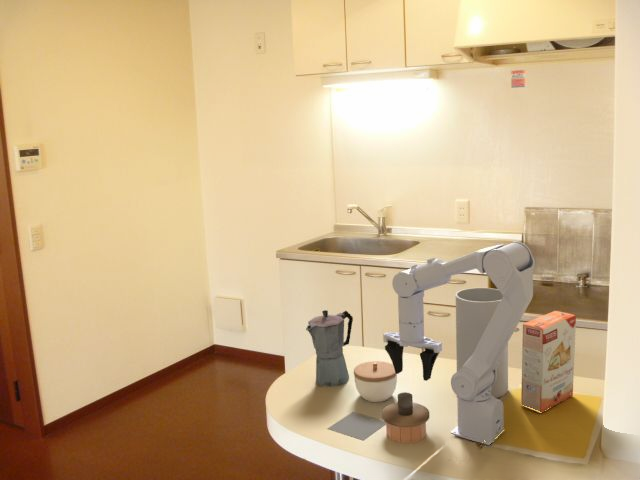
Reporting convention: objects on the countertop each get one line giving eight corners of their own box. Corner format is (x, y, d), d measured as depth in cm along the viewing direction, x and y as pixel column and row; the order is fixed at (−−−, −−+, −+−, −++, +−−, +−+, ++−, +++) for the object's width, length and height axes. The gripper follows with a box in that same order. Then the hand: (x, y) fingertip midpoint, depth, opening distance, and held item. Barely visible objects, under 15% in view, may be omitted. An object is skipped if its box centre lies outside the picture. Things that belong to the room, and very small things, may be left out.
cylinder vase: (476, 375, 177) (475, 284, 172) (517, 389, 168) (518, 293, 163) (446, 390, 169) (445, 295, 164) (488, 405, 160) (488, 305, 155)
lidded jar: (396, 408, 161) (394, 372, 159) (352, 407, 163) (350, 371, 161) (399, 390, 171) (398, 355, 169) (358, 388, 173) (356, 354, 172)
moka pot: (299, 384, 178) (295, 312, 174) (341, 367, 188) (337, 299, 184) (324, 394, 171) (319, 320, 167) (365, 376, 181) (362, 305, 177)
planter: (433, 431, 149) (432, 413, 148) (413, 448, 142) (412, 428, 141) (400, 422, 154) (399, 403, 153) (379, 437, 148) (378, 418, 147)
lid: (438, 412, 148) (437, 392, 147) (413, 431, 140) (413, 410, 139) (398, 401, 154) (397, 382, 153) (372, 419, 147) (371, 398, 146)
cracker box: (542, 415, 153) (543, 328, 149) (520, 407, 158) (520, 323, 154) (575, 396, 162) (577, 314, 158) (552, 389, 167) (554, 309, 163)
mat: (388, 424, 153) (388, 422, 153) (363, 442, 146) (363, 440, 146) (353, 413, 160) (353, 411, 159) (327, 430, 152) (327, 428, 152)
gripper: (375, 320, 155) (377, 375, 158) (430, 330, 146) (431, 388, 149) (391, 311, 160) (393, 365, 163) (445, 321, 151) (446, 377, 154)
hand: (412, 375), depth 156 cm, fingers open, 7 cm apart
